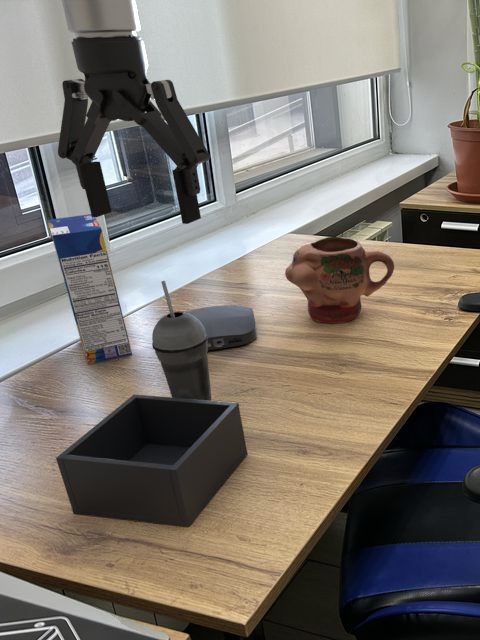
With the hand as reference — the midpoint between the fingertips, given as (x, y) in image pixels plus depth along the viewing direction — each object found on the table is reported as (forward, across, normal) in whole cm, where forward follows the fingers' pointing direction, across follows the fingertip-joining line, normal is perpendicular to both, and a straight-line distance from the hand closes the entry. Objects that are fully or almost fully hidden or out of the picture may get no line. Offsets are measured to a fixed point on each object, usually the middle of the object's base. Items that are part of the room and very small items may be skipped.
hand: (146, 218), depth 90 cm
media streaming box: (+29, +12, -25) cm, 40 cm away
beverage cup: (+29, -1, 0) cm, 29 cm away
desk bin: (+29, -8, +15) cm, 33 cm away
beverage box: (+29, +28, -15) cm, 43 cm away
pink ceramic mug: (+29, -6, -40) cm, 50 cm away
